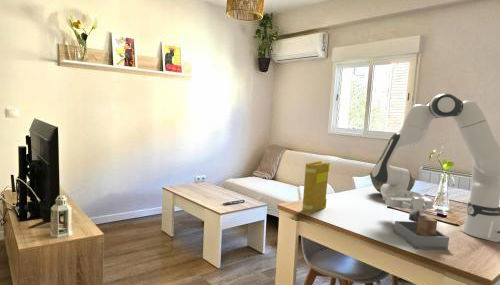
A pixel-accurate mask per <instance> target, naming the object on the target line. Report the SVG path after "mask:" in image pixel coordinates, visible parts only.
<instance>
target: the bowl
mask: <svg viewBox="0 0 500 285" xmlns="http://www.w3.org/2000/svg"><path fill="white" fill-rule="evenodd" d="M372 171H373V170H372ZM372 171H370V172H369V178H370V181H371V183H372V186H373V187H374V189H375V190H376V191H377V192H379V193H380V194H381V191H380V189H381V186H382V185H383V184H381V183H377V182H376V181H375V180H374V178H373V176H372ZM411 177H412V182H411V185H410V187H409V189H408V191H412V190H413V188H414V186H415V183H416V177H415V176H414V175H413V174H411Z"/></svg>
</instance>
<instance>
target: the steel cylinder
mask: <svg viewBox="0 0 500 285" xmlns="http://www.w3.org/2000/svg"><path fill="white" fill-rule="evenodd" d="M411 205H413V207H412V209H409V216H408V221H410V222H418V217H419V216H423V215H424V214H423V213H424V210H423V206H424V198H421V197H416V196H412V199H411Z"/></svg>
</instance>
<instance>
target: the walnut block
mask: <svg viewBox="0 0 500 285" xmlns="http://www.w3.org/2000/svg"><path fill="white" fill-rule="evenodd" d="M437 226H438V220H437V219H435V218H434V217H432V216H423V215H422V216H419V217H418V225H417V234H416V235H417V236H435V235H436V230H437Z"/></svg>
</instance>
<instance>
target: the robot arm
mask: <svg viewBox="0 0 500 285" xmlns="http://www.w3.org/2000/svg"><path fill="white" fill-rule="evenodd" d="M450 117H451V118H452V119H453V120H455V122H456V125H457V127H458V129H459V132H460V134H461V136H462V138H463V139H462V140H463V141H464V143H465V145H466V147H467V148H468V151H469V153H470V155H471V156H472V162H471V164H472V165H471V185H470V186H471V188H470V196H469V201H468V203H467V211H466V212H467V214H466V216H465V221H464V223H463V225H462V227H461V231H462V232H463V233H465V235H466V234H467V235H469V236H472V237H476V238H479V239H482V240H487V241H490V242H494V243H499V242H500V206H499V205H500V143H498V141H497V140H496V138H495V136H494V133H493V131H492V129H491V127H490V125H489V123H488V120H487V117H486V116H485V115H484V112H483V111H482V109H481V108H480V106H479V105H478V103H477V102H476V101H474V100H470V99H469V100H468V99H467V100H461V99H460V98H458V97H456V96H455V95H453V94H450V93H441V94H437V95H436V96H434V97H433V98H431V100H430V101H428V102H427V103H426V104H420V103H419V104H415V105H412V106H411V108H409V111H408V113H407V114H406V117H405V119H404V121H403V124H402V127H401V129H400V130H399V131H398V132H395V133H394V134H393V135H392V136H391V137H390V139H389V140H388V142H387V144H386V145H385V148H384V150H383V152H382V154H381V156H380V157H379V159H378V160H377V163H376V164H375V165H374V167H373V169H372V176H373V178H374V180H375V181H376V182H377V183H381V184H383V185H382V186H381V189H380V191H381V193H380V195H381V196H382V197H381V198H382V200H383V201H385V204H386V205H388V206H389V207H392V208H398V209H399V208H400V209H409V210H410V209H412V207H413V205H411V199H412V196H416V197H421V198H424V206H423V211H424V210H427V209H429V210H432V209H433V206H434V201H433V200H432V199H431V198H429V197H427V196H425V195H422V193H421V192H418V191H417V192H416V191H412V190H410V191H408V189H409V187H410V185H411V182H412V177H411V175H412V173H411V172H410V170H409V169H407V168H402V167H401V166H400V167H399V166H394V165H391V164H390V163H391V162H392V160H393V158H394V156H395V155H396V152H397V151H398V150H399V149H401V148H402V147H408V146H414V145H415V146H416V145H419V144H420V143H422V142H423V141H424V140H425V138H426V136H427V133H428V130H429V128H430V124H431V122H432V121H433V120H434V119H445V118H450Z"/></svg>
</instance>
